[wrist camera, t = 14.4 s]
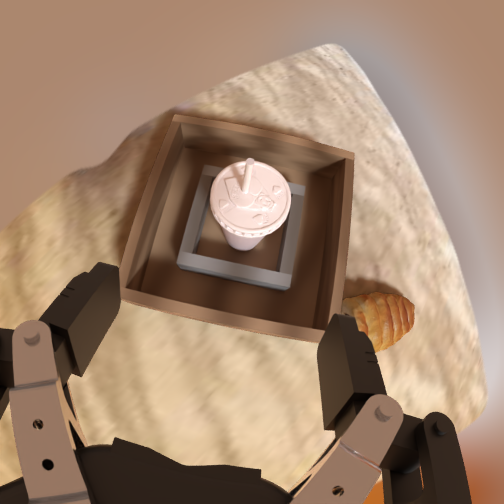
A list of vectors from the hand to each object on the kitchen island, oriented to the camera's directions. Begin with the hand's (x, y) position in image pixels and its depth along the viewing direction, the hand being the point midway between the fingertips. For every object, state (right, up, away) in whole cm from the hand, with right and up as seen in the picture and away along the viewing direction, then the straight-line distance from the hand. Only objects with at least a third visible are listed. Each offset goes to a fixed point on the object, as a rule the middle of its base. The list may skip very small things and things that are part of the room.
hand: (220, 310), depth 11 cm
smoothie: (0, +4, +22) cm, 22 cm away
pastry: (+15, -6, +22) cm, 27 cm away
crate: (0, +4, +23) cm, 23 cm away
